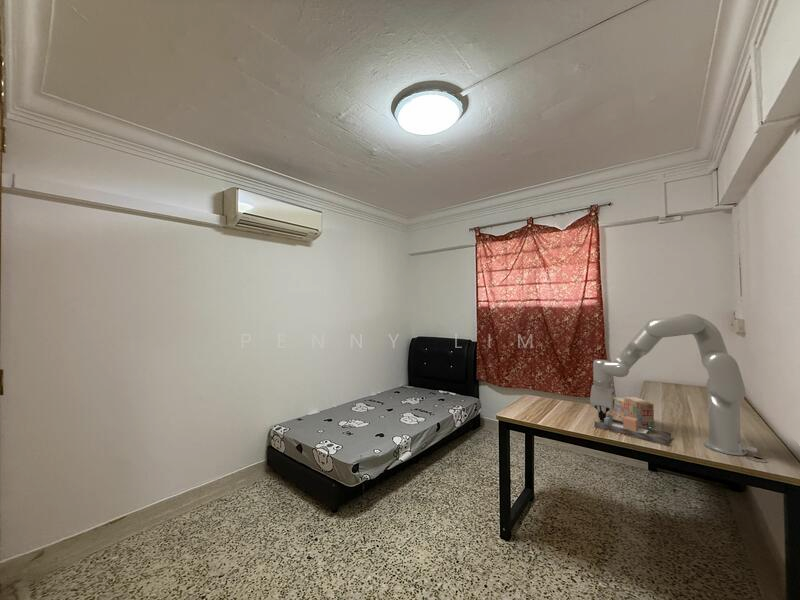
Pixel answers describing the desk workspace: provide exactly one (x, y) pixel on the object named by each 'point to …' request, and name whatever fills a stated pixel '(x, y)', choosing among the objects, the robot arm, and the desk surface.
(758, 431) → the desk surface
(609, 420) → the white sliding panel
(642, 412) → the stack of blocks
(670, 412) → the desk surface
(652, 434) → the rail board
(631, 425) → the terracotta block
